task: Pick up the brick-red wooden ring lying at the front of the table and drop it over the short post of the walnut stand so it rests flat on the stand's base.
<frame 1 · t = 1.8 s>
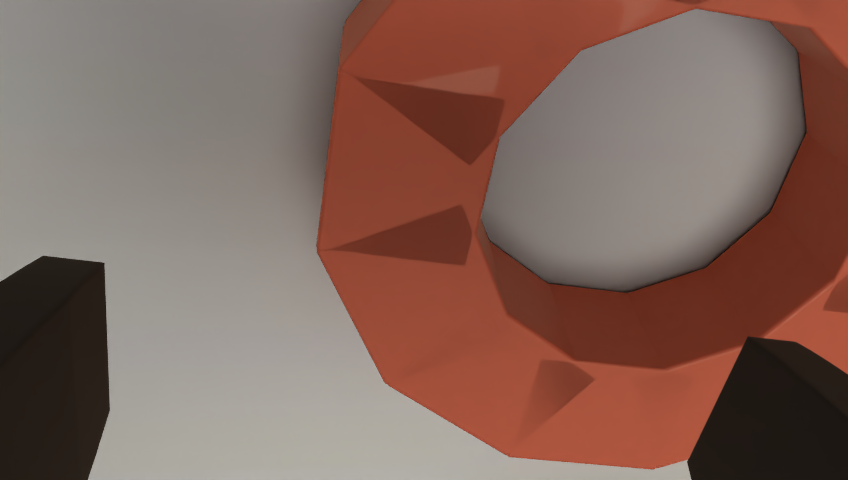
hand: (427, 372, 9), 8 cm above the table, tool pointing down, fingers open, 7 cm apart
ring: (633, 150, 16), on the table
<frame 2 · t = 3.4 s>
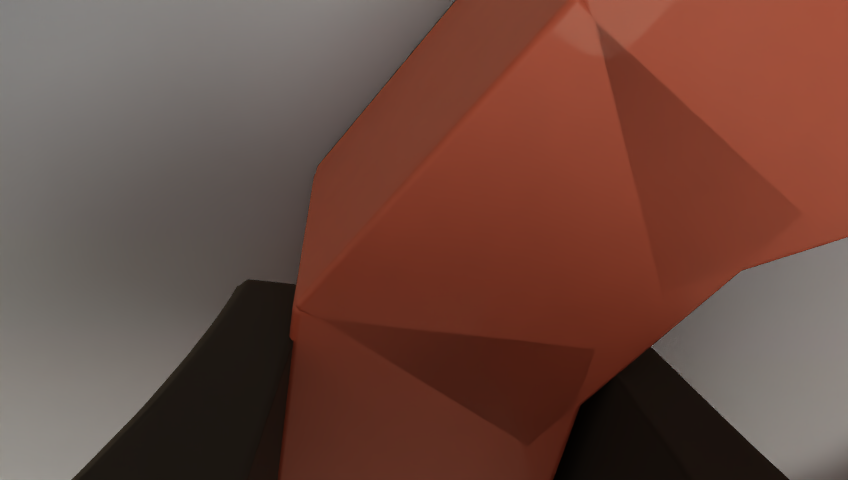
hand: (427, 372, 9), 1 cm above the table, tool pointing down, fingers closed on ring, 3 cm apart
ring: (762, 340, 11), on the table, touching gripper
when the fingers open (2 cm above the table, at t = 9.5 s): ring stays where it is, resting on stand.
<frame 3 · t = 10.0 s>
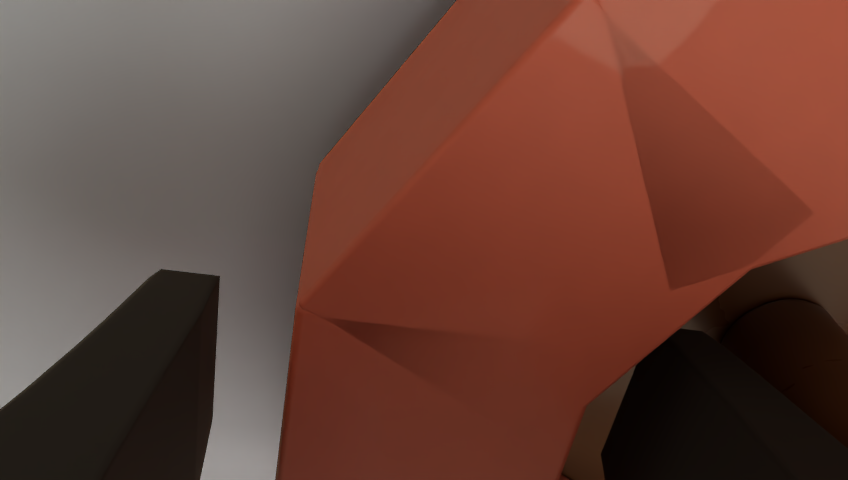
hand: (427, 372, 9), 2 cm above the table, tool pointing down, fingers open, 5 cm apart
ring: (766, 340, 11), point 1 cm above the table, touching stand
stand: (744, 301, 11), on the table
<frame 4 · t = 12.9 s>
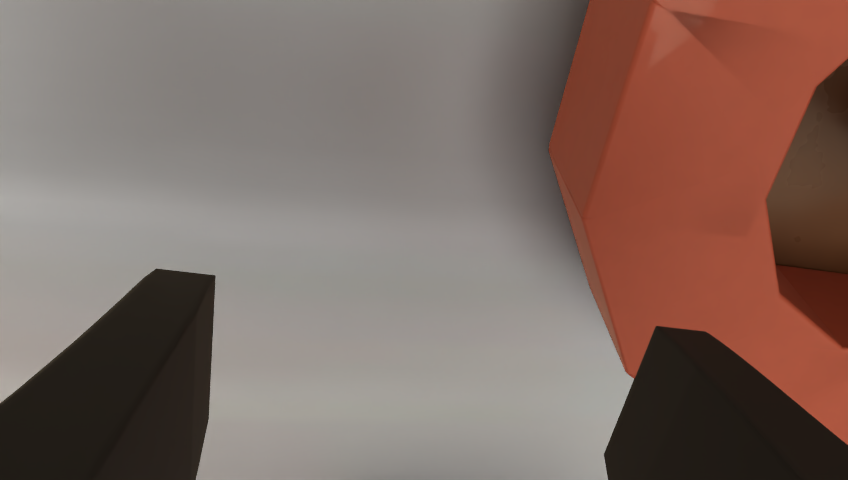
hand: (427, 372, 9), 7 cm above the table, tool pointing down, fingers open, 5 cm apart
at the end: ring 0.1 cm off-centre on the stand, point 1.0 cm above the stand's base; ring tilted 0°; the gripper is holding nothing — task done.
